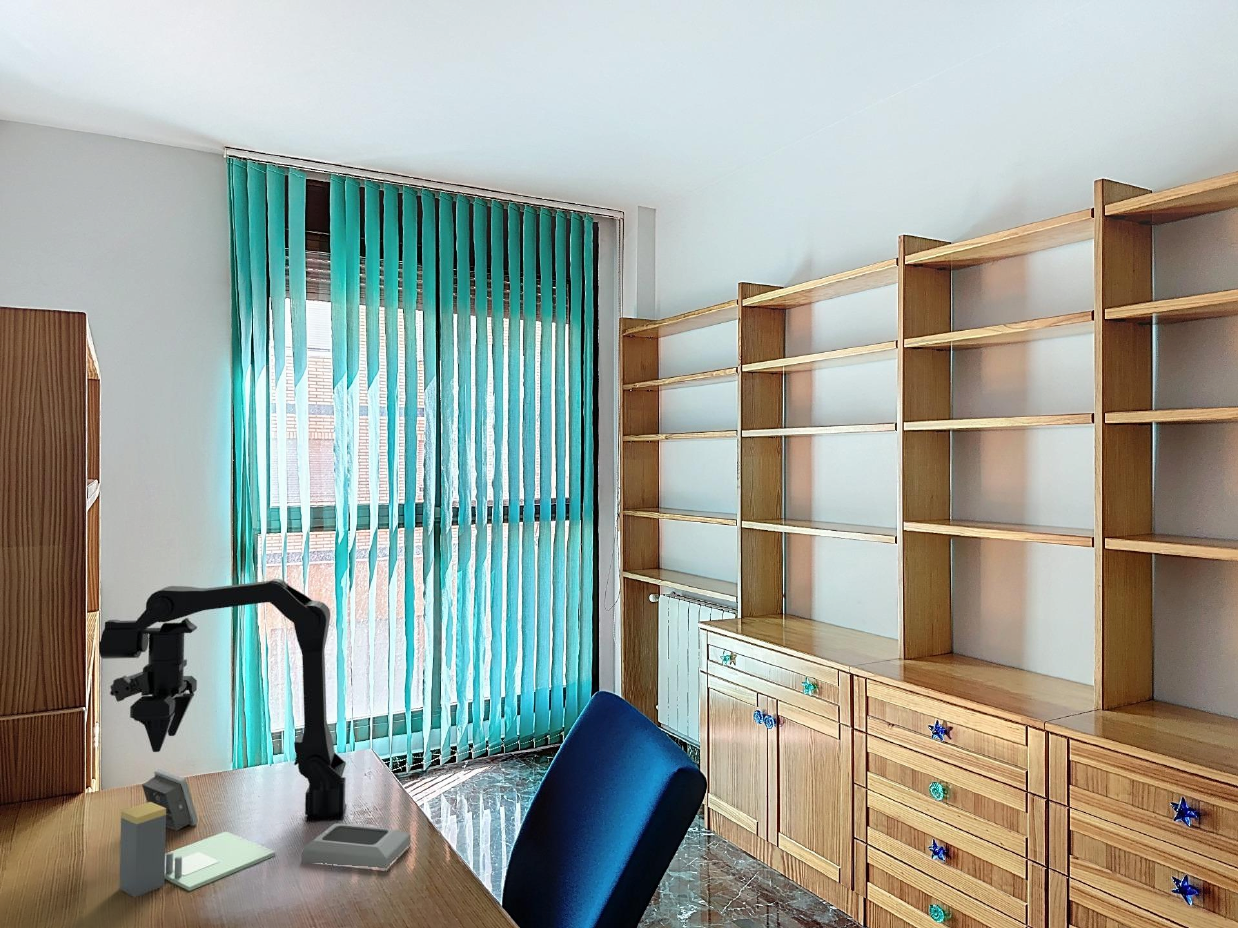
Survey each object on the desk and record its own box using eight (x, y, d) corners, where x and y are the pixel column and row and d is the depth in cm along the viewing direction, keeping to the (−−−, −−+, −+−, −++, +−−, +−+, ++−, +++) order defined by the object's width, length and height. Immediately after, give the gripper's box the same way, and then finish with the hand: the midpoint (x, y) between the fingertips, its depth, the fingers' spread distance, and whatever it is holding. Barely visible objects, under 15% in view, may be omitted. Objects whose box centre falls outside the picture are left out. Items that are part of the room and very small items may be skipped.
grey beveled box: (386, 851, 141) (301, 842, 144) (386, 873, 141) (301, 864, 144) (410, 827, 151) (330, 819, 153) (410, 848, 151) (330, 840, 153)
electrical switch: (199, 825, 158) (195, 775, 157) (171, 837, 153) (167, 786, 153) (170, 813, 163) (166, 765, 162) (142, 825, 158) (138, 775, 158)
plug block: (148, 877, 138) (150, 801, 138) (164, 885, 135) (166, 808, 135) (119, 888, 134) (121, 810, 134) (135, 897, 131) (136, 817, 131)
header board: (225, 834, 154) (226, 814, 154) (275, 855, 146) (275, 833, 146) (140, 866, 141) (140, 844, 141) (189, 890, 134) (189, 867, 134)
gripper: (135, 647, 165) (133, 729, 165) (97, 670, 147) (95, 763, 147) (198, 646, 167) (196, 727, 167) (169, 668, 149) (167, 759, 149)
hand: (164, 743), depth 158 cm, fingers open, 9 cm apart
